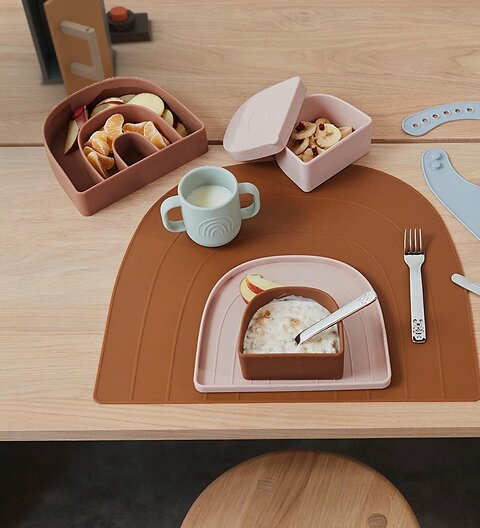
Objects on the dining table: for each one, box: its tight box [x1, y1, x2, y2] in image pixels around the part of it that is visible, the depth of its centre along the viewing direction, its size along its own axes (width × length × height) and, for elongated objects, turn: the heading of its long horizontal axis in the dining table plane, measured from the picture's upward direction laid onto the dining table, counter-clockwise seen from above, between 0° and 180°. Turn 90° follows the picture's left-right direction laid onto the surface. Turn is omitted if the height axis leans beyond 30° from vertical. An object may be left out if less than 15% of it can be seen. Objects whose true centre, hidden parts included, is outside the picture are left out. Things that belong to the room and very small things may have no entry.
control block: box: [106, 8, 151, 44], centre depth 158 cm, size 12×8×4 cm, turn 98°
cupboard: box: [21, 0, 114, 84], centre depth 142 cm, size 10×14×24 cm
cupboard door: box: [44, 0, 115, 119], centre depth 134 cm, size 8×14×24 cm, turn 155°
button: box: [109, 5, 128, 22], centre depth 156 cm, size 4×4×2 cm
